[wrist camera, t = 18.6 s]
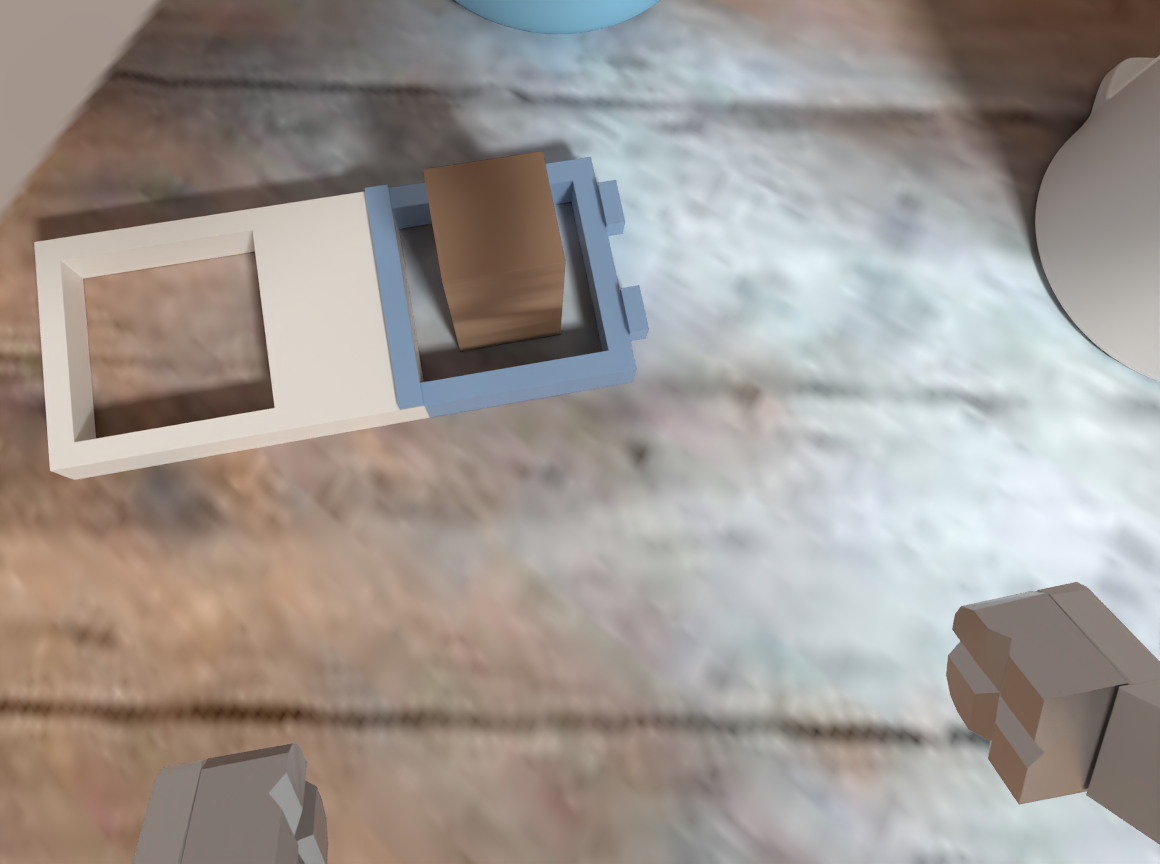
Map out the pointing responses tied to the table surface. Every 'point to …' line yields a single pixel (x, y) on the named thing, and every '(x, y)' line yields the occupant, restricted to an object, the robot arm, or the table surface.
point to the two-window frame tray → (317, 322)
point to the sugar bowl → (558, 13)
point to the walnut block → (498, 249)
